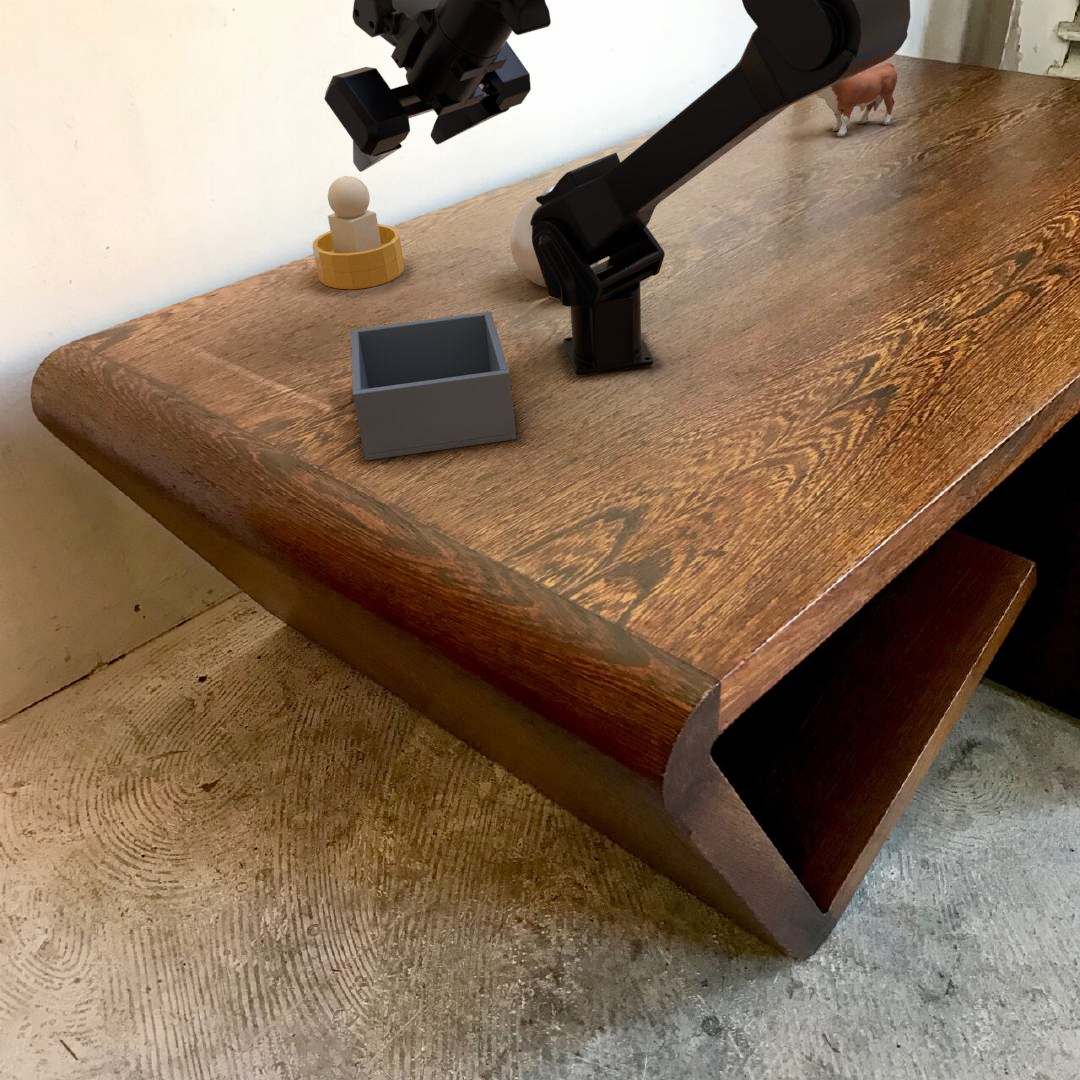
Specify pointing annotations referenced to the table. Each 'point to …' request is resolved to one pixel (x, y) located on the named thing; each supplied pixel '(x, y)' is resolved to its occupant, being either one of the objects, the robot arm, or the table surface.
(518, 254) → the ghost figurine
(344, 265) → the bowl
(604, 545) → the table surface
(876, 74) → the bull figurine
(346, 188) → the ball-topped square peg
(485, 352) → the bin
